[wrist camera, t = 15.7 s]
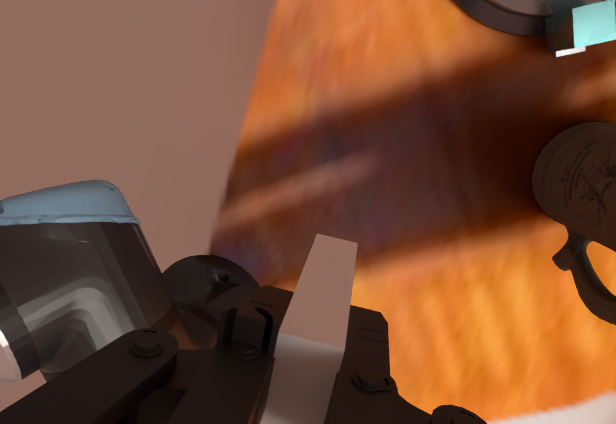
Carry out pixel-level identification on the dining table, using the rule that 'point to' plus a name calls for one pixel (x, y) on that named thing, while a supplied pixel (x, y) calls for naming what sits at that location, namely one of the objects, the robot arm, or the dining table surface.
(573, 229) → the beer stein
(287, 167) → the dining table surface
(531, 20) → the base plate
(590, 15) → the turntable
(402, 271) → the dining table surface
